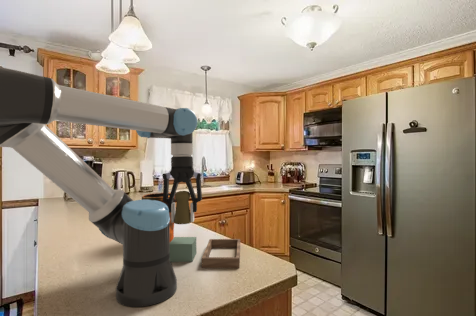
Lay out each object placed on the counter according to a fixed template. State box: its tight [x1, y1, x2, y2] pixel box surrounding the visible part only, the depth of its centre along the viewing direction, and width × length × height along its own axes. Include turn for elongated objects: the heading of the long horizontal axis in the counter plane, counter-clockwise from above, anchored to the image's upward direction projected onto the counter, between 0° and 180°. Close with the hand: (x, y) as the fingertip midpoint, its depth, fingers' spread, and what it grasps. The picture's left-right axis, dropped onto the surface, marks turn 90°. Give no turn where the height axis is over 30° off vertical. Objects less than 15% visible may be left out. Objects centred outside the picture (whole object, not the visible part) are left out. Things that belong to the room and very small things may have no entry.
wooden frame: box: [201, 238, 241, 269], centre depth 95 cm, size 20×12×3 cm, turn 179°
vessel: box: [141, 192, 177, 242], centre depth 113 cm, size 14×14×20 cm
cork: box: [174, 190, 192, 225], centre depth 95 cm, size 6×6×11 cm
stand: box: [170, 236, 197, 263], centre depth 95 cm, size 8×8×6 cm
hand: (183, 221), depth 95 cm, fingers closed on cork, 6 cm apart
